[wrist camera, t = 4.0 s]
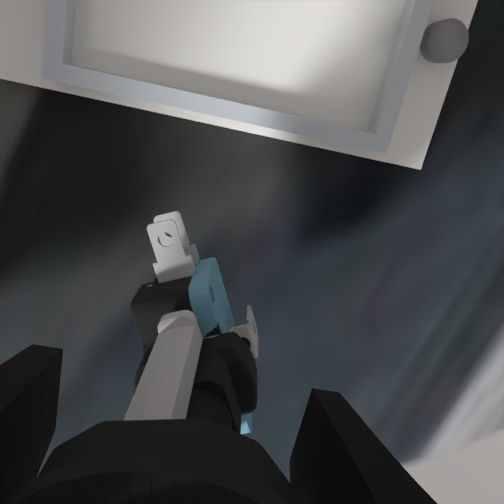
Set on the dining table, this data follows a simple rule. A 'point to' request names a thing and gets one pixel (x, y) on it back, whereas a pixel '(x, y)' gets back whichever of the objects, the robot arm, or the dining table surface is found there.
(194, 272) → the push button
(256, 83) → the tray
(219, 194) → the dining table surface
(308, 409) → the robot arm
